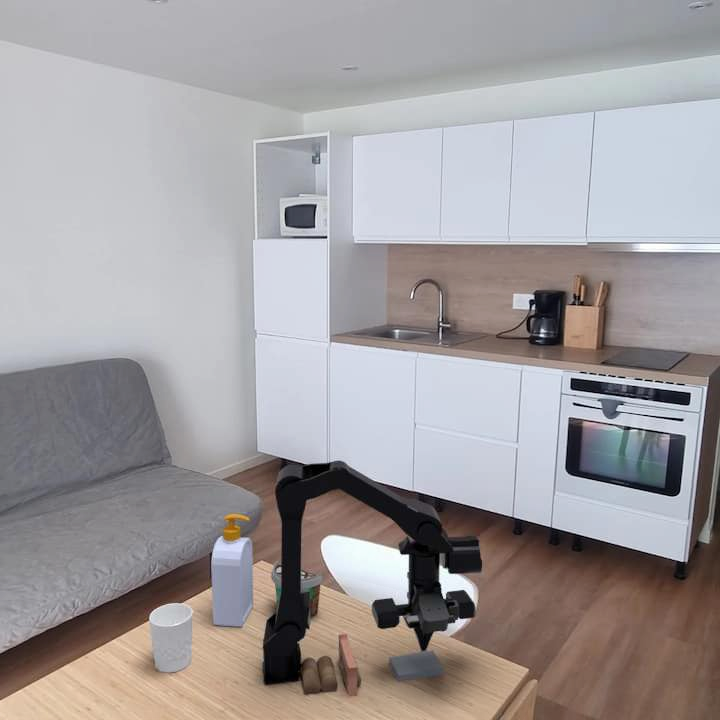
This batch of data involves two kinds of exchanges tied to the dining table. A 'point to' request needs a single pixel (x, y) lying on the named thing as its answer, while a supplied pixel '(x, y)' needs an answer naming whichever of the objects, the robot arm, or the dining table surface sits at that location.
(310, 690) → the roller
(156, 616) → the white cup
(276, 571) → the food container
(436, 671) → the slab
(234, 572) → the soap bottle
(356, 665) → the roller
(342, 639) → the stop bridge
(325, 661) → the roller
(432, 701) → the dining table surface
